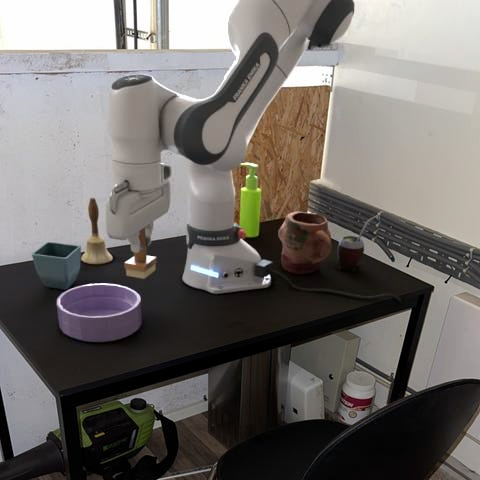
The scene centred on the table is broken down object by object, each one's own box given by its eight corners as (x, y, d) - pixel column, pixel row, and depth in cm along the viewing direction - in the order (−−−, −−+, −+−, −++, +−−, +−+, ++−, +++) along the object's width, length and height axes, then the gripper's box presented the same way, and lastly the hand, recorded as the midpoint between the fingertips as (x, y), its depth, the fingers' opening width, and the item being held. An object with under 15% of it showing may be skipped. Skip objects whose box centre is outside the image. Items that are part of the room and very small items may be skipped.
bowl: (138, 306, 148) (137, 282, 145) (144, 341, 134) (143, 315, 131) (61, 310, 145) (57, 285, 142) (59, 346, 131) (55, 319, 128)
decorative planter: (346, 278, 168) (353, 225, 160) (311, 287, 162) (317, 232, 154) (297, 254, 181) (302, 204, 173) (263, 262, 175) (266, 210, 167)
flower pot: (70, 294, 152) (66, 258, 147) (36, 290, 153) (30, 253, 148) (85, 280, 159) (81, 245, 154) (52, 276, 160) (47, 241, 155)
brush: (137, 266, 132) (135, 219, 126) (157, 269, 131) (155, 222, 125) (124, 275, 127) (121, 227, 122) (144, 279, 126) (142, 230, 121)
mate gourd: (329, 265, 175) (336, 210, 166) (352, 261, 178) (360, 206, 169) (346, 275, 170) (354, 218, 161) (369, 270, 173) (379, 214, 164)
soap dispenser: (243, 228, 197) (246, 160, 186) (262, 233, 194) (266, 164, 182) (232, 233, 193) (235, 163, 182) (251, 238, 190) (255, 168, 178)
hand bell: (116, 254, 175) (112, 194, 165) (108, 265, 168) (103, 203, 159) (86, 252, 175) (80, 192, 166) (77, 263, 168) (70, 201, 159)
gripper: (126, 191, 109) (131, 268, 117) (175, 165, 125) (176, 235, 133) (93, 186, 111) (100, 263, 119) (146, 161, 127) (149, 230, 135)
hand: (141, 248), depth 126 cm, fingers closed on brush, 2 cm apart
